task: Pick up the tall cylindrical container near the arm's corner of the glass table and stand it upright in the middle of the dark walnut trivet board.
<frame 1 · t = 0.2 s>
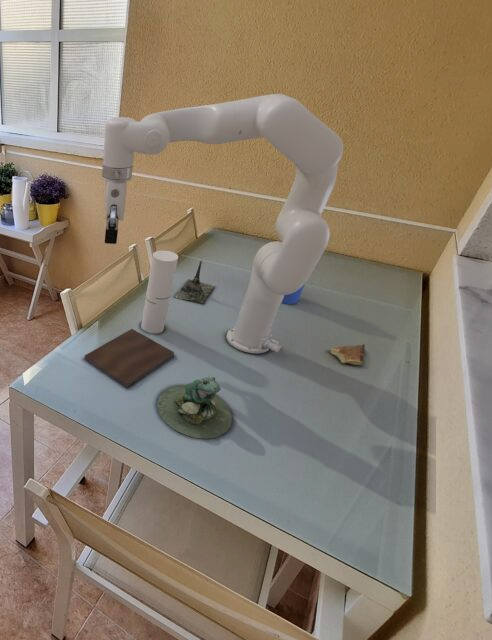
hand: (111, 236, 116), 31 cm above the table, tool pointing down, fingers open, 9 cm apart
trivet board: (129, 357, 122), on the table
frog figurine: (193, 411, 105), on the table
eiffel tower figurine: (194, 292, 153), on the table
cylindrical container: (152, 327, 135), on the table
shard: (345, 354, 123), on the table
water bottle: (283, 297, 150), on the table
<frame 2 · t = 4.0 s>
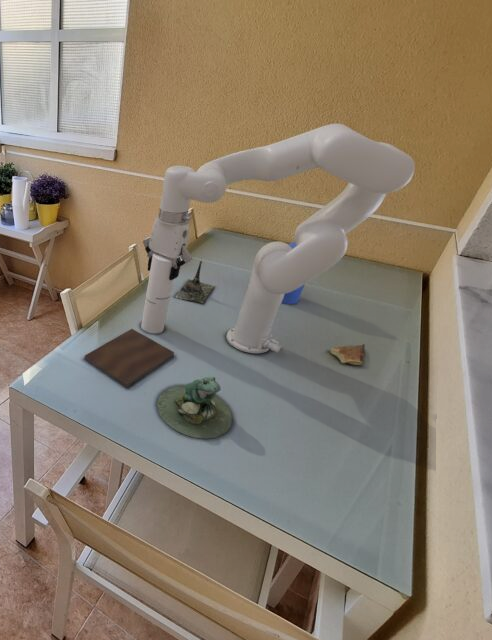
hand: (162, 273, 123), 19 cm above the table, tool pointing down, fingers closed on cylindrical container, 7 cm apart
cylindrical container: (152, 327, 135), on the table, touching gripper
everything else where it was.
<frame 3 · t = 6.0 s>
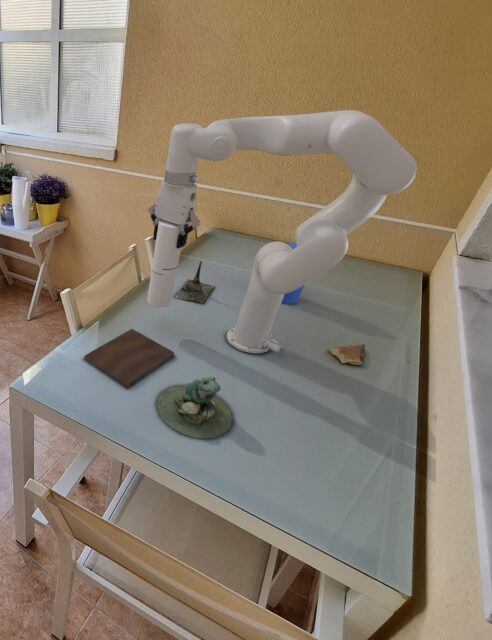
hand: (168, 242, 117), 29 cm above the table, tool pointing down, fingers closed on cylindrical container, 7 cm apart
cylindrical container: (158, 301, 129), point 10 cm above the table, touching gripper
everything else where it was.
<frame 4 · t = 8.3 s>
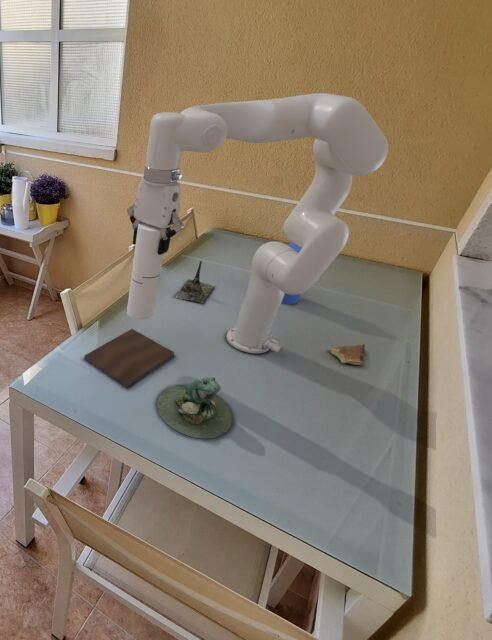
hand: (149, 247, 104), 33 cm above the table, tool pointing down, fingers closed on cylindrical container, 7 cm apart
cylindrical container: (139, 313, 116), point 14 cm above the table, touching gripper
everything else where it was.
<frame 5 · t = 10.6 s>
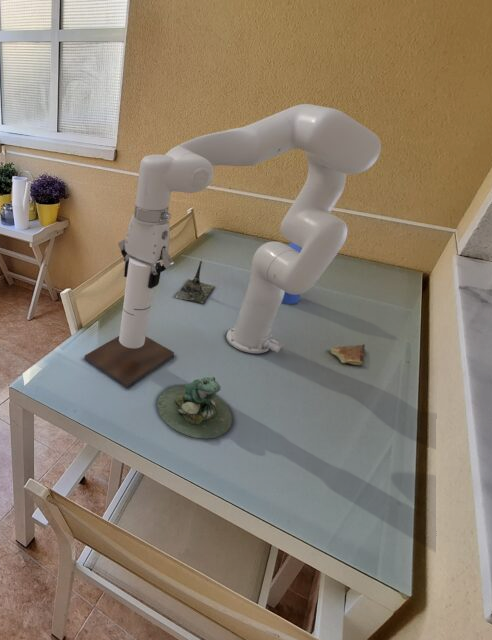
hand: (140, 280, 107), 26 cm above the table, tool pointing down, fingers closed on cylindrical container, 7 cm apart
cylindrical container: (131, 341, 118), point 6 cm above the table, touching gripper
everything else where it was.
when the fingers open (21 cm above the table, at t = 12.5 s): cylindrical container stays where it is, resting on trivet board.
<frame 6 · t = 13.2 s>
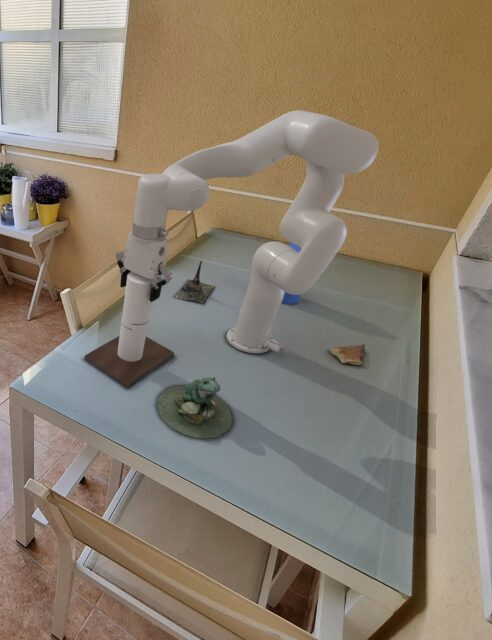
hand: (139, 292, 109), 22 cm above the table, tool pointing down, fingers open, 9 cm apart
cylindrical container: (129, 354, 121), point 1 cm above the table, touching trivet board
everything else where it was.
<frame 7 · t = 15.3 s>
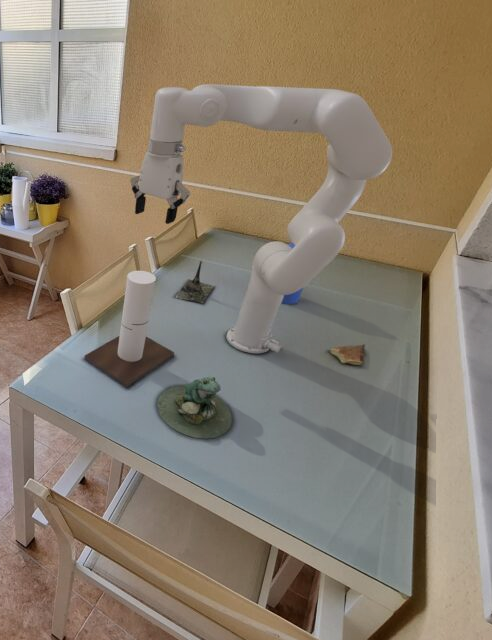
hand: (154, 217, 110), 38 cm above the table, tool pointing down, fingers open, 9 cm apart
nothing on the table moved.
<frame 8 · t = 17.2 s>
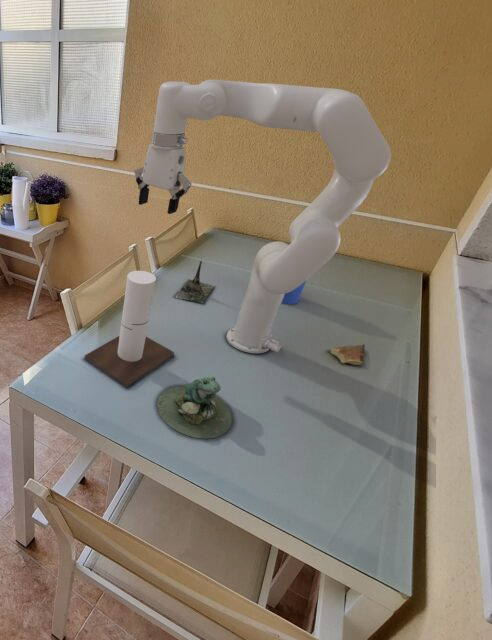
hand: (156, 208, 114), 38 cm above the table, tool pointing down, fingers open, 9 cm apart
nothing on the table moved.
at the end: cylindrical container inside the target area on the trivet board (0.1 cm from its centre), point 1.3 cm above the trivet board's base; cylindrical container tilted 0°; the gripper is holding nothing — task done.
